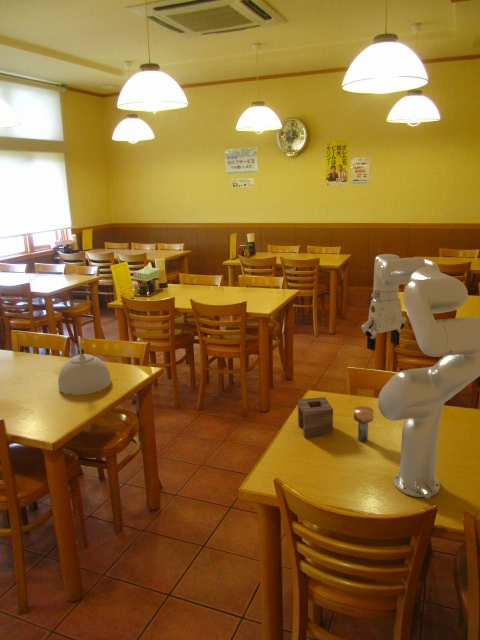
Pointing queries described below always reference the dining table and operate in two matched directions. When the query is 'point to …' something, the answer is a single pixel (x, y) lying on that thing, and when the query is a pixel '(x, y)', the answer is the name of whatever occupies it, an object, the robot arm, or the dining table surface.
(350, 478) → the dining table surface
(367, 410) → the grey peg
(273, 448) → the dining table surface
